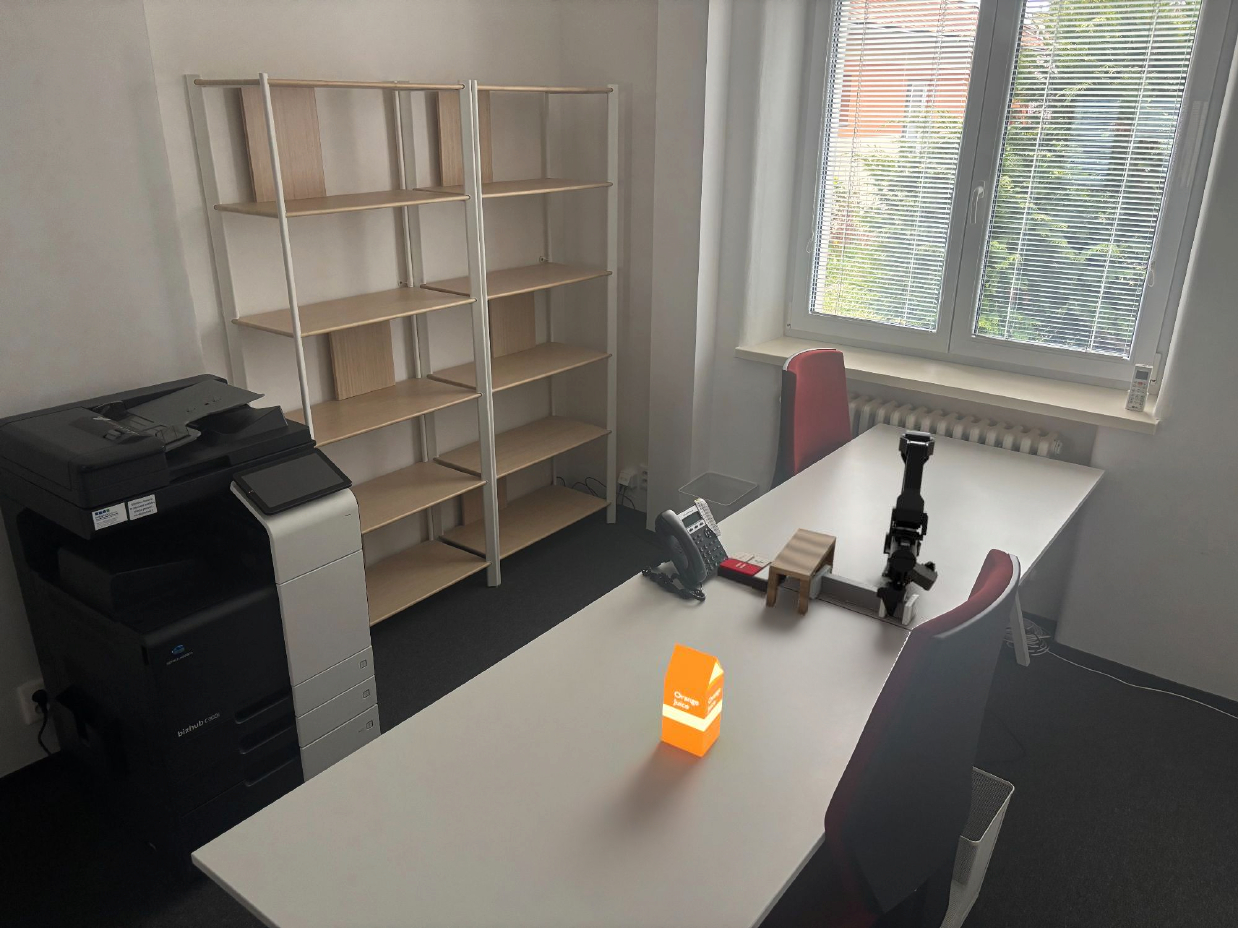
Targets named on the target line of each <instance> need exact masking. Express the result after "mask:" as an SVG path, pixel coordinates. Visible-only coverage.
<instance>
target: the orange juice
mask: <svg viewBox="0 0 1238 928" xmlns="http://www.w3.org/2000/svg"><path fill="white" fill-rule="evenodd" d="M724 676H725V672H724V670H723V668H722V665H721V664H720V660H718V657H716V656H712V655H710V654H708V653H705V652H702V651H700V650H696V649H693V648H691V647H688V646H684V645H682V644H679V643H677V642H675V645H674V649H673V652H672V654H671V658H670V661H669V664H668V667H667V670H666V673H665V676H664V683H663V700H662V701H663V704H662V723H661V725H662V726H661V727H662V728H661V741H662V742H665V743H668V744H670V745H672V746H674V747H677V748H679V749H681V750H684V751H687V752H689V753H691V754H693V755H696V756H698V757H700V758H702V757H703V756H704V755H705V754H706V753H707V751H708V750H709V749H710V747H711V746H712V745H713V744H714V742H716V740H717V739H718V737H719V736H720V729H721V716H722V708H723V707H722V706H723V692H724V689H723V688H724V678H725V677H724Z"/></svg>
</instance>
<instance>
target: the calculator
mask: <svg viewBox="0 0 1238 928" xmlns="http://www.w3.org/2000/svg"><path fill="white" fill-rule="evenodd" d="M727 559H728V560H727ZM727 559H725V560H724V561H722V562H721V563H720V564H719V565H720V566H719V565H717V576H719V577H721V578H723V579H726V580H728V581H731V582H734V583H737V584H740V585H743V586H747V587H748V588H751V589H752V590H756V591H758V592H760V593H764V594H767V586H768V575H769V565H770V564H771V563H772V562H773V561H772V560H770V559H766V558H763V557H760V556H755V555H753V554H750V553H746V552H743V551H737V552H736V553H734V554H733V555H731V556H730V557H729V558H727ZM787 579H788V576H787V575H783V574H779V579H778V586H779V585H780V584H781V583H783V582H784V581H786V580H787Z"/></svg>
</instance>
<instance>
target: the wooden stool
mask: <svg viewBox="0 0 1238 928" xmlns="http://www.w3.org/2000/svg"><path fill="white" fill-rule="evenodd" d="M836 542H837V536H834V535H830V534H826V533H821V532H817V531H814V530H813V531H812V530H809V529H804V528H800V527H799V528H798V529H797V530H796V532H795V533H794V535H792V537H791V538H790V539H789V540H788V542H787V543H786V544H785V545H784V547H782V549H781V550H780V552H779V553H778V554H777V555H776V556H775V558H774V559H773V561H771V562H772V563H771V564H770V565H769V575H768V586H767V593H766V597H765V598H766V599H765V600H766V601H765V606H767V607H768V606H769V607H771V608H773V607H775V606H776V604H777V597H778V589H779V588H778V586H779V585H778V579H779V574H783V575H787V577H791V578H795V579H799V580H800V582H799V583H800V584H799V590H798V591H799V592H798V601H797V602H798V603H797V608H796V609H797V611H796V614H798V615H802V616H806V615H807V613H808V612H809V611H808V609H809V603H810V602H809V601H810V597H809V593H810V585H811V578H812V577H813V576H814V575H815V574H816V573H817V572H818V571H820V570H821V569H822V568H823V567H824V566H825V565H829V566H831V571H830V573H831V574H833V567H834V560H835V559H834V558H835V551H836Z"/></svg>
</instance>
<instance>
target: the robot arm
mask: <svg viewBox="0 0 1238 928" xmlns="http://www.w3.org/2000/svg"><path fill="white" fill-rule="evenodd" d="M898 441H899V443H898V449H897V450H898V452H900V457H901V459H902V462H903V463H904V471H903V477H902V484H901V491H900V494H899V495H898V496H897V497H896V503H895V505H894V506H892V508H891V516H890V523H889V530H888V532H887V531H886V533H885V537H884V542H883V543H884V544H883V550H882V551H883V552H882V554H883V555H887V558H886V565H885V567H884V569H883V570H882V572H881V576H884V578H887V579H888V578H889V581H887V580H884V581H882V582H881V583H879V585H878V589H877V595H876V596H877V597H878V598H881V599H882V601H883V603H884V606H885V609H886V611H887V614H886V615H887V616H888V617H891V618H893V617H894V616H893V615H894V612H895V610H896V607H897V605H898V603H903V602H904V600H905V598H906V596H907V593H908V589H907V585H910V584H911V583H914V584H916V585H917V586H918V587H920V588H922V589H923V590H924V591H926V592H929V591H930V590H931V589H932V587H933V585H934V584H935V583H936V581H937V579H938V576H939V574H938V571H937V570H936V563H934V562H933V561H932V560H930V561H927V562H926V563H924V562H923V563H922V562H921V563H919V562H918V561H917V560H918V557H919V556H920V551H921V548H922V542H923V541H924V536H927V533H928V532H927V531H928V524H929V515H928V512H927V511H926V510H925V499H924V498H923V496H922V494H921V491H922V490H921V489H922V483H923V482H922V480H923V473H924V472H923V471H924V465H925V464H926V463H927V462H928V461H929V459H930V456H933V455H934V450H935V445H936V438H935V437H932V436H931V432H926V431H925V432H924V431H917V430H908V429H906V430H905V432H904V433H900V435H899V440H898ZM919 529H921V530H920V532H919V531H918V530H919ZM921 541H922V542H921Z"/></svg>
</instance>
